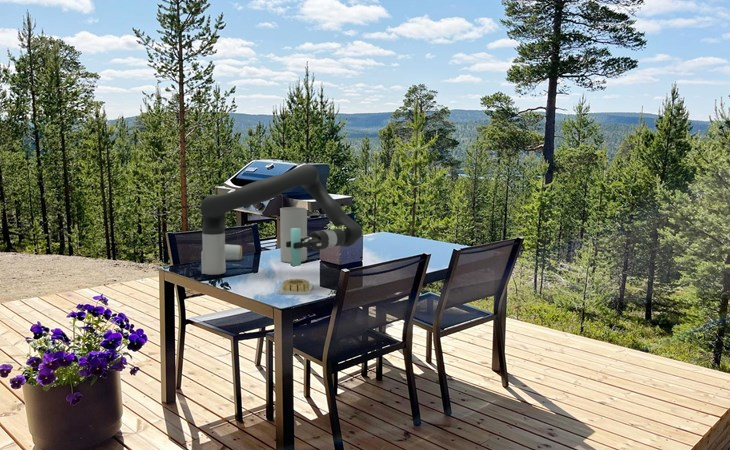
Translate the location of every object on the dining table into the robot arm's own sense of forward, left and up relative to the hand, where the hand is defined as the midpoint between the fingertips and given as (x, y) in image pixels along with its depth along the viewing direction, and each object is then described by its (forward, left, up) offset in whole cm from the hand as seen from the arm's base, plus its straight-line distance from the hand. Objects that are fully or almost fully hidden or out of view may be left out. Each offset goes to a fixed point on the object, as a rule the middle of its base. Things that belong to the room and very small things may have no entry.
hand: (290, 245), depth 204 cm
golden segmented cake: (+2, +2, -18) cm, 18 cm away
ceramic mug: (-37, +55, -18) cm, 68 cm away
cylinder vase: (-7, +55, -18) cm, 58 cm away
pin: (+2, +2, -8) cm, 8 cm away
